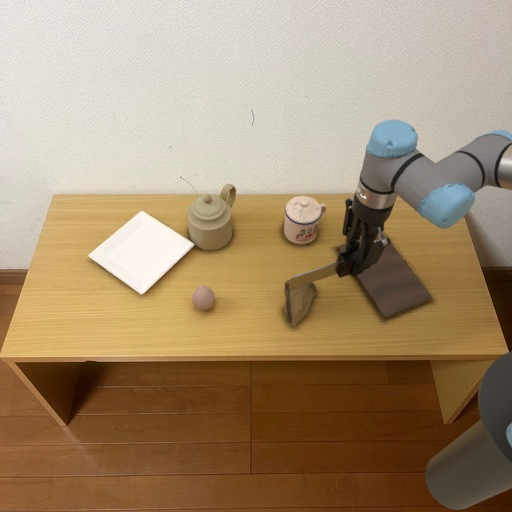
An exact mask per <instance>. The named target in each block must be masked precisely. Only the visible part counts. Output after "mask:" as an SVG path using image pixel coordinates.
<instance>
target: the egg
mask: <svg viewBox="0 0 512 512" xmlns="http://www.w3.org/2000/svg"><path fill="white" fill-rule="evenodd" d="M194 289H195V290H193V292H192V296H191V301H192V304H193V306H194V307H195V308H196V309H197V310H199V311H208V310H210V309H211V308H212V307H213V306H214V304H215V302H216V295H215V293H214V291H213V290H212V289H211V288H210V287H209V286H207V285H199V286H198V287H196V288H194Z"/></svg>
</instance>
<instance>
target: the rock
mask: <svg viewBox="0 0 512 512" xmlns="http://www.w3.org/2000/svg"><path fill="white" fill-rule="evenodd" d="M290 281H291V279H287V280H285V281H284V289H283V291H284V298H285V301H284V314H285V316H286V318H287V321H288V322H289V323H290V324H291V325H292V326H293V327H296V326H297V324H298V323H299V322H300V321H301V320H302V319H303V318H304V317H306V314H307V313H308V311H309V308H310V305H311V304H312V302H313V297H314V296H315V295H316V294H318V293H317V292H318V288H317V287H316V285H315V283H314V282H311V283H308V284H305V285H302V286H299V287H296V288H293V289H290V290H289V285H290Z"/></svg>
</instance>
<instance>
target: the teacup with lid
mask: <svg viewBox="0 0 512 512" xmlns="http://www.w3.org/2000/svg"><path fill="white" fill-rule="evenodd" d="M326 211H327V205H326V204H325V203H319V202H318V200H316V199H315V198H313V197H310V196H306V195H298V196H295V197H292V198H291V199H289V200H288V202H287V203H286V204H285V207H284V213H285V214H284V215H285V216H284V223H283V226H284V227H283V233H284V236H285V238H286V239H287V240H288V241H289V242H291V243H292V244H296V245H306V244H310V243H311V242H313V241H314V240H315V239H316V237H317V235H318V230H319V224H320V219H321V218H322V217H323V216H324V215H325V213H326Z"/></svg>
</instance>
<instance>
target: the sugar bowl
mask: <svg viewBox="0 0 512 512" xmlns="http://www.w3.org/2000/svg"><path fill="white" fill-rule="evenodd" d="M236 196H237V189H236V186H235V185H233V183H226V184H225V185H224V186H223V187H222V189H221V191H220V195H217V194H213V193H205V194H201V195H199V196H198V197H196V198H195V199H193V201H192V202H191V204H189V206H188V208H187V211H186V219H187V227H188V232H189V237H190V241H191V242H192V243H194V246H196V247H197V248H199V249H202V250H205V251H216V250H220V249H222V248H224V247H225V246H227V245H228V244H229V243H230V242H231V239H232V238H233V214H232V208H233V206H234V203H235V200H236Z"/></svg>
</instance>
